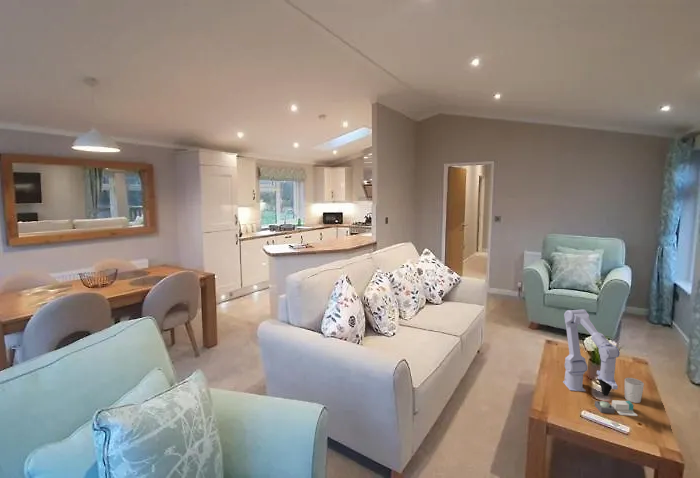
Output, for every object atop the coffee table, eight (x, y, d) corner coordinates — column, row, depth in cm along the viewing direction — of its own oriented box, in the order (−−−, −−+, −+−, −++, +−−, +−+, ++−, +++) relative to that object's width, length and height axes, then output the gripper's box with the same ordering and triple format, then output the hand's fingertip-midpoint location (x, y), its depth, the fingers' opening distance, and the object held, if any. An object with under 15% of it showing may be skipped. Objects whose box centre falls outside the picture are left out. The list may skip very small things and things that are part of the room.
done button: (597, 406, 182) (598, 401, 182) (606, 407, 182) (606, 401, 181) (602, 411, 178) (602, 405, 178) (610, 411, 178) (611, 406, 177)
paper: (610, 405, 183) (610, 405, 183) (627, 406, 182) (627, 406, 182) (620, 415, 175) (620, 414, 175) (637, 416, 174) (638, 415, 174)
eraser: (615, 410, 179) (616, 404, 178) (611, 406, 182) (612, 400, 182) (632, 411, 178) (633, 405, 177) (628, 407, 181) (629, 400, 181)
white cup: (644, 405, 183) (646, 386, 182) (625, 401, 186) (626, 383, 185) (639, 397, 190) (641, 379, 189) (621, 393, 193) (622, 376, 192)
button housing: (594, 405, 183) (594, 400, 183) (607, 406, 183) (607, 401, 182) (601, 412, 178) (601, 407, 177) (614, 413, 177) (614, 408, 176)
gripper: (591, 362, 185) (589, 386, 187) (607, 376, 171) (604, 403, 173) (606, 362, 184) (603, 387, 186) (623, 377, 170) (620, 403, 172)
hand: (605, 395), depth 179 cm, fingers closed
